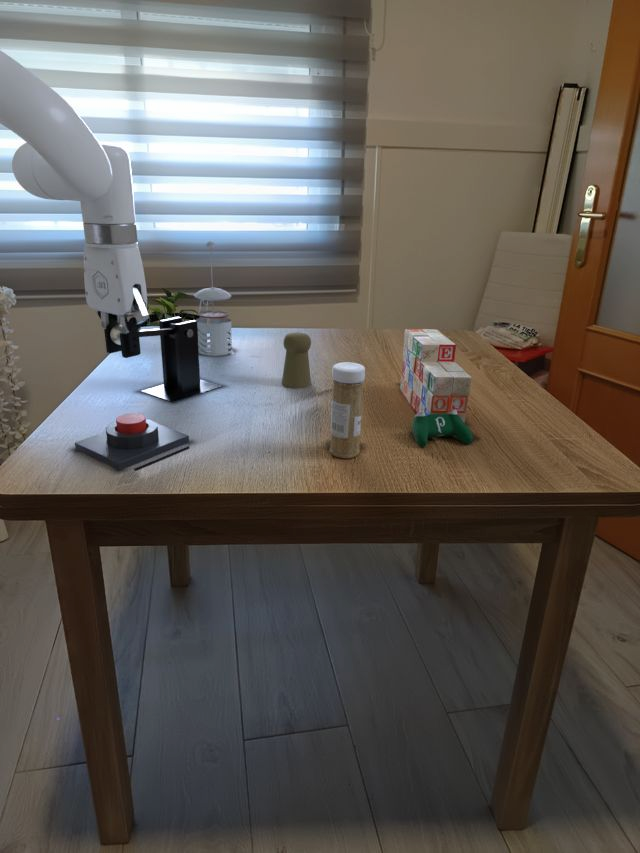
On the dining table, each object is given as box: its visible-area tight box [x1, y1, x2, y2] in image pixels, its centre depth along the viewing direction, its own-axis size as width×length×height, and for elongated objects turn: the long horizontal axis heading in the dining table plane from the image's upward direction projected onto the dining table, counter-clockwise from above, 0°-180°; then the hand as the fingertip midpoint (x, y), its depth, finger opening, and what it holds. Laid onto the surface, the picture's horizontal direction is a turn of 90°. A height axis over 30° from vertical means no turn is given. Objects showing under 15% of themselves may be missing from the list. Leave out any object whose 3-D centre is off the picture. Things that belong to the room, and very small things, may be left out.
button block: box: [74, 418, 190, 472], centre depth 82 cm, size 12×10×4 cm
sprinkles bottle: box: [329, 361, 366, 459], centre depth 83 cm, size 5×5×14 cm
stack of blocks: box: [400, 328, 472, 423], centre depth 102 cm, size 21×6×12 cm, turn 5°
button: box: [115, 412, 147, 434], centre depth 81 cm, size 4×4×2 cm
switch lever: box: [110, 323, 177, 345], centre depth 97 cm, size 15×3×3 cm, turn 144°
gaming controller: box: [412, 410, 474, 448], centre depth 90 cm, size 9×4×6 cm
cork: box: [281, 331, 312, 390], centre depth 109 cm, size 6×6×11 cm
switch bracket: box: [139, 316, 223, 404], centre depth 104 cm, size 12×9×14 cm
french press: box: [193, 241, 237, 357], centre depth 127 cm, size 10×12×25 cm
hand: (123, 352), depth 94 cm, fingers closed on switch lever, 3 cm apart
